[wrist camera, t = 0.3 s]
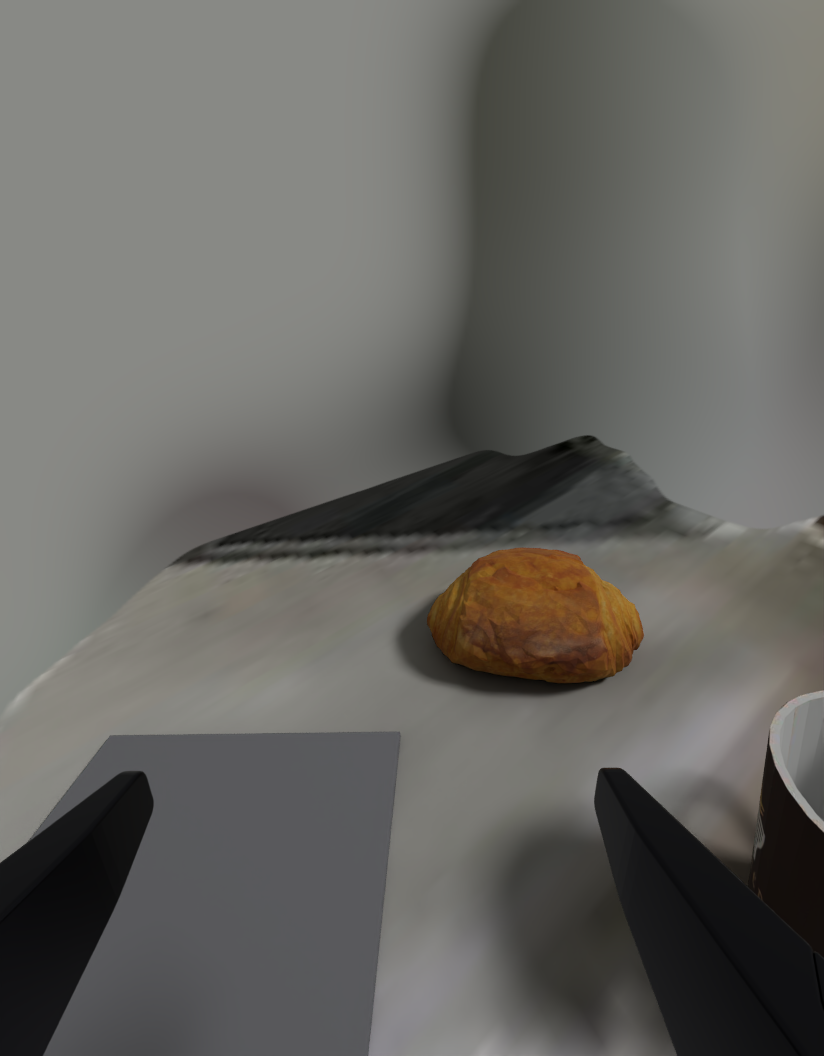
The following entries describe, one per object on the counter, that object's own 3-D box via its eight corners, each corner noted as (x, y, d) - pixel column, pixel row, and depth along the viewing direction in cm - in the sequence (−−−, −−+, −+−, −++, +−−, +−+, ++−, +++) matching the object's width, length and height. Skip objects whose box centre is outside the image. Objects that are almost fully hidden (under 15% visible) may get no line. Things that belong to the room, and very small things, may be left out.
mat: (347, 1253, 14) (346, 1249, 13) (-232, 1194, 16) (-240, 1190, 15) (400, 736, 30) (399, 731, 30) (112, 739, 32) (110, 735, 31)
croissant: (632, 742, 30) (670, 653, 26) (409, 677, 34) (412, 592, 30) (621, 608, 42) (646, 533, 38) (456, 572, 46) (463, 501, 42)
